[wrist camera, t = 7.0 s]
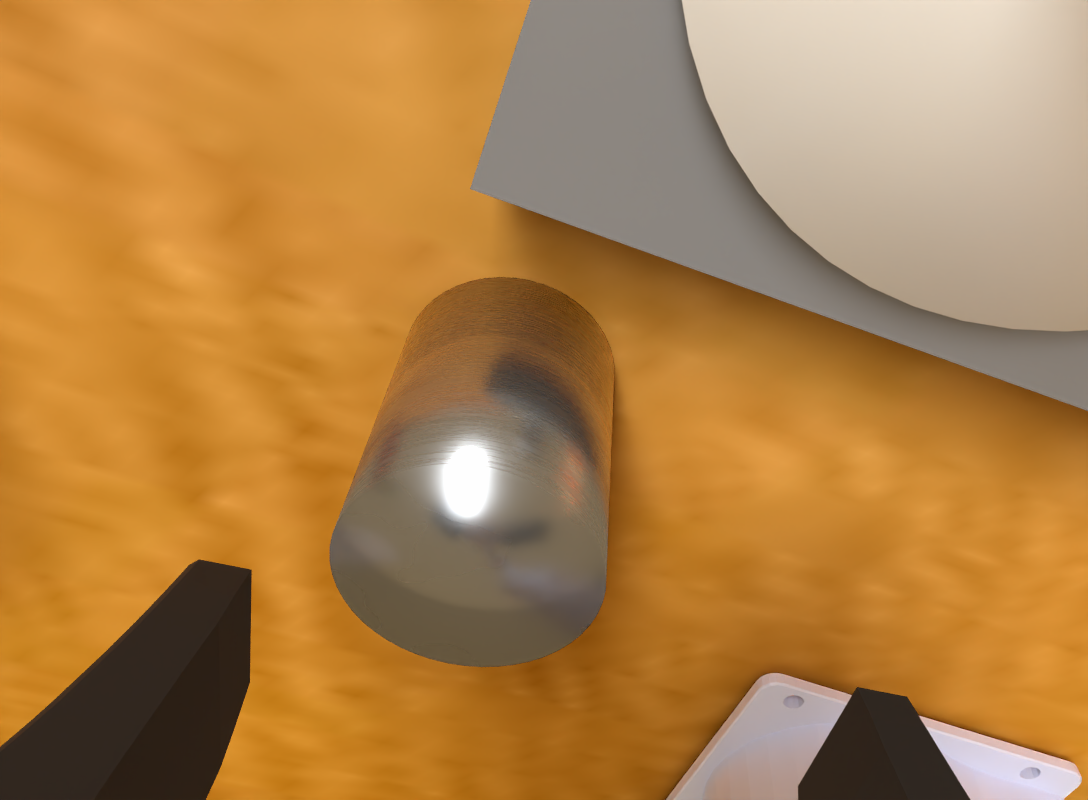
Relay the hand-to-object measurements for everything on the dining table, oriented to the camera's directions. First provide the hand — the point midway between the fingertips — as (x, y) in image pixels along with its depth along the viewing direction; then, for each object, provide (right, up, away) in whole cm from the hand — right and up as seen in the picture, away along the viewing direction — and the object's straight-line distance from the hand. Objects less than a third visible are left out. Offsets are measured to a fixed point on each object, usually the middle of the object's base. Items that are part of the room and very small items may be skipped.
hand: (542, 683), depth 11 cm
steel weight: (-1, +4, +9) cm, 10 cm away
